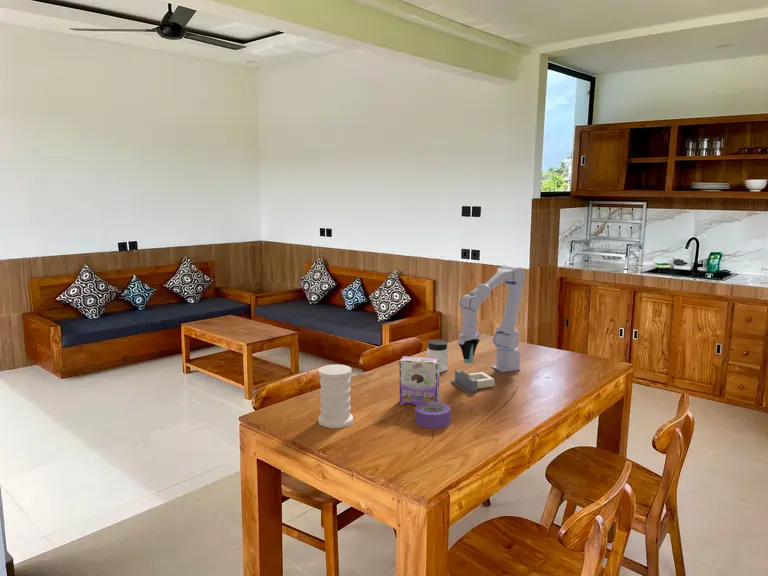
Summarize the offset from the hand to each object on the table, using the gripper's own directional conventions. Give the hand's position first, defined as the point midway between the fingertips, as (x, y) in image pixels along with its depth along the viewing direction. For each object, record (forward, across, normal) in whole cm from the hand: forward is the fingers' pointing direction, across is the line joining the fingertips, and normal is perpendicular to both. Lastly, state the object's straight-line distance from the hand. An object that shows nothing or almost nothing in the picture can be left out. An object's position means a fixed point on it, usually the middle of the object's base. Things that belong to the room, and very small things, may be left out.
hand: (468, 357), depth 237 cm
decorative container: (+9, +63, -17) cm, 66 cm away
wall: (+9, +8, +3) cm, 13 cm away
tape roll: (+9, +45, +9) cm, 47 cm away
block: (+9, +4, +6) cm, 12 cm away
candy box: (+9, +33, -3) cm, 35 cm away
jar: (+9, -4, -16) cm, 19 cm away
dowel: (+2, 0, 0) cm, 2 cm away
